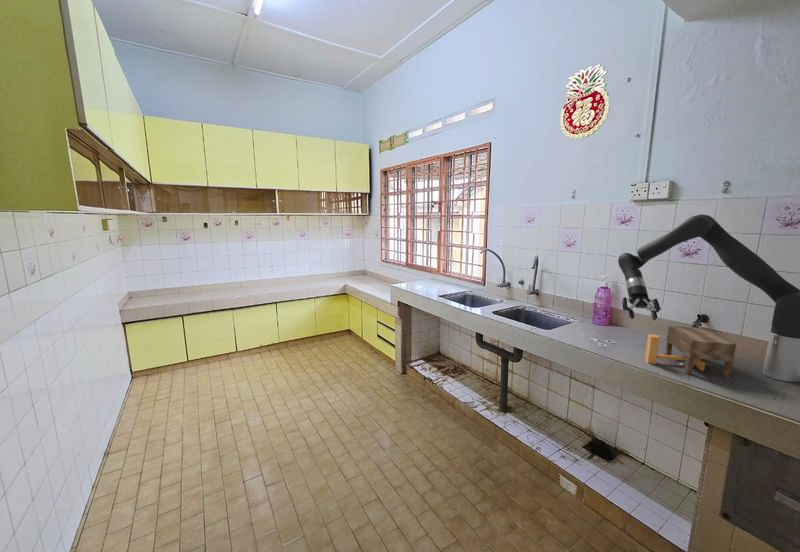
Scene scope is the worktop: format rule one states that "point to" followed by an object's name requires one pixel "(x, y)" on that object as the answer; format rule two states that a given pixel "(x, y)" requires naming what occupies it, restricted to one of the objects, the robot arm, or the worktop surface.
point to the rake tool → (653, 350)
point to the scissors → (601, 340)
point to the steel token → (683, 364)
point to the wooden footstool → (701, 346)
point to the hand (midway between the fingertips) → (643, 318)
